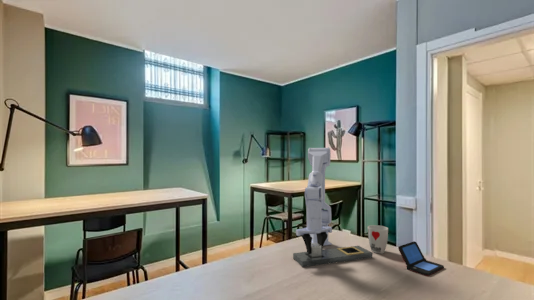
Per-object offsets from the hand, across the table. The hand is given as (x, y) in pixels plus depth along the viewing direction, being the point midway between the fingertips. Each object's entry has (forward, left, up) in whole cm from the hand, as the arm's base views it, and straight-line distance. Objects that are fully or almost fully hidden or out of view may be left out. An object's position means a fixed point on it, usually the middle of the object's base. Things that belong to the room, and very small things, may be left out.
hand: (314, 252), depth 109 cm
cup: (-1, +30, -3) cm, 30 cm away
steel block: (0, 0, -3) cm, 3 cm away
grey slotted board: (0, +8, -3) cm, 9 cm away
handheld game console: (+18, +34, -3) cm, 38 cm away
